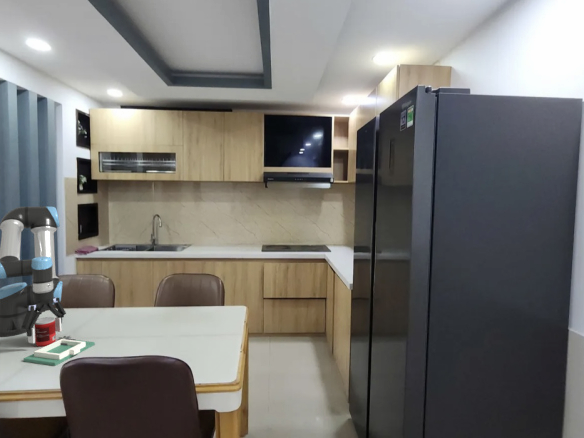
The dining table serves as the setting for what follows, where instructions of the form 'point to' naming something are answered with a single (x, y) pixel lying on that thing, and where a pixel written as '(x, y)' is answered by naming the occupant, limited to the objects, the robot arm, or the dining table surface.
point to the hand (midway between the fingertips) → (45, 336)
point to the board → (58, 351)
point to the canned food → (45, 331)
